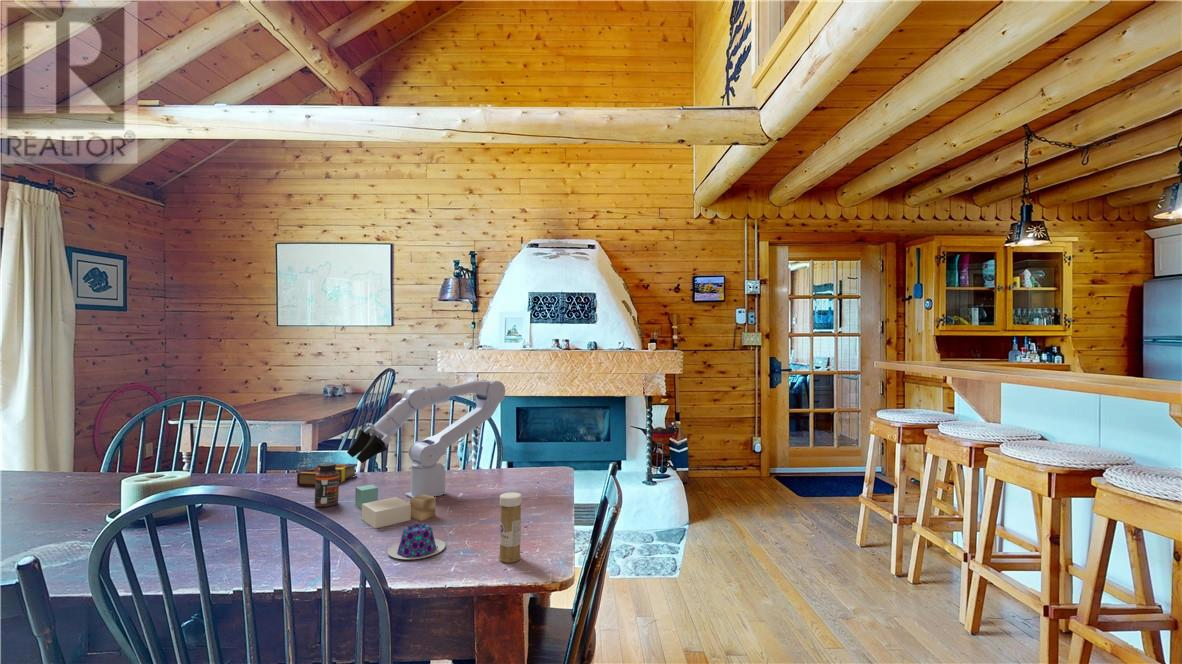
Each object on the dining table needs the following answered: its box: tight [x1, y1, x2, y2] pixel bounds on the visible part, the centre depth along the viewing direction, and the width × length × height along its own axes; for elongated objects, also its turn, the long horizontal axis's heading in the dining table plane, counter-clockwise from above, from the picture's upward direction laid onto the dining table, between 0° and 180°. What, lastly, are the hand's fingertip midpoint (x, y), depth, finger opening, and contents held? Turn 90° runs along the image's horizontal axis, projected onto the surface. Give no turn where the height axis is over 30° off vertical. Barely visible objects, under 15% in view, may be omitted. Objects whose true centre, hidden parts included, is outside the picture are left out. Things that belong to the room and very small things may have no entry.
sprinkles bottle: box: [498, 491, 523, 564], centre depth 107 cm, size 5×5×13 cm
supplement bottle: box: [314, 462, 340, 508], centre depth 143 cm, size 6×6×11 cm
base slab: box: [361, 496, 412, 529], centre depth 131 cm, size 9×9×4 cm
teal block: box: [354, 484, 379, 510], centre depth 143 cm, size 4×4×5 cm
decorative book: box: [296, 463, 358, 487], centre depth 169 cm, size 11×16×5 cm
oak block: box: [409, 495, 437, 522], centre depth 133 cm, size 4×4×5 cm
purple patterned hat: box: [387, 523, 446, 560], centre depth 111 cm, size 12×12×5 cm
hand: (354, 457), depth 140 cm, fingers open, 7 cm apart
